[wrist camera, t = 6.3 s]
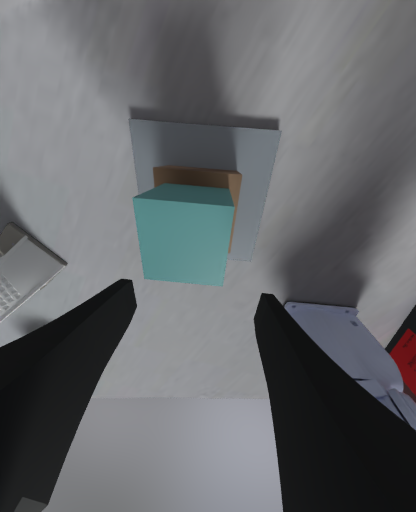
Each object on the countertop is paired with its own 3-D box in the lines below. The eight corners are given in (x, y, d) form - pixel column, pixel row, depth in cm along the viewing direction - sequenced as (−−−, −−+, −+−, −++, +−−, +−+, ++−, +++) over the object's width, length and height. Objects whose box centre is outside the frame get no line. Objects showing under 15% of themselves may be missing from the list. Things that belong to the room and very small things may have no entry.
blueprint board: (278, 132, 14) (281, 130, 13) (250, 257, 20) (251, 261, 19) (133, 120, 14) (128, 118, 13) (148, 248, 20) (146, 252, 19)
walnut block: (237, 170, 15) (242, 174, 11) (228, 234, 18) (230, 253, 14) (168, 165, 15) (152, 167, 11) (171, 229, 18) (159, 247, 14)
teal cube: (229, 188, 12) (234, 206, 7) (221, 246, 14) (222, 286, 10) (164, 183, 12) (132, 197, 7) (167, 241, 14) (144, 278, 10)
